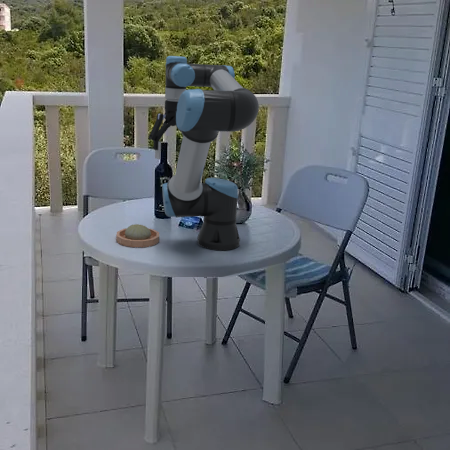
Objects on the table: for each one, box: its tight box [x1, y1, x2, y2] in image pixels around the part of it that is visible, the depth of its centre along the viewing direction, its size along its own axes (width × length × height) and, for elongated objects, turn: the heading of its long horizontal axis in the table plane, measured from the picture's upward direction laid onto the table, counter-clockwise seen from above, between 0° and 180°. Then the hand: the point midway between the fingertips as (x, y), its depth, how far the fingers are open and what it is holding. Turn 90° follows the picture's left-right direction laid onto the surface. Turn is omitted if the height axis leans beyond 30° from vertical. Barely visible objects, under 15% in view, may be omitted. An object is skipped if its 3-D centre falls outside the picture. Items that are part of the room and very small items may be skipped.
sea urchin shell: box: [125, 223, 151, 240], centre depth 204 cm, size 9×8×8 cm
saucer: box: [115, 227, 160, 249], centre depth 204 cm, size 15×15×2 cm
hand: (173, 157), depth 215 cm, fingers open, 13 cm apart
